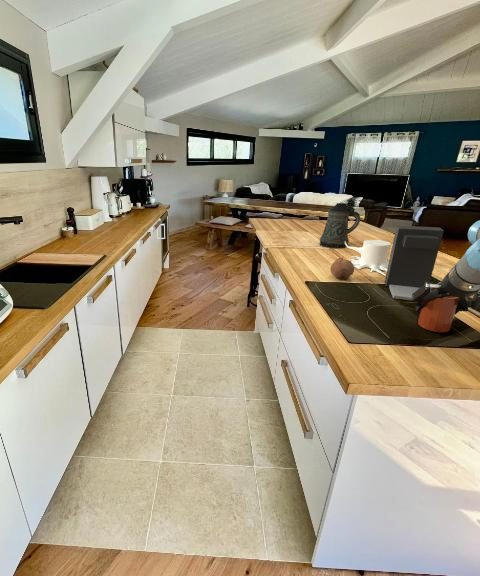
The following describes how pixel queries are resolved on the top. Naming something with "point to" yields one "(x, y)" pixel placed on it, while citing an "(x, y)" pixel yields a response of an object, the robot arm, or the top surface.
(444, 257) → the top surface
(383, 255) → the tree stump
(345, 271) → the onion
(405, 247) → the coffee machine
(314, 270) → the top surface
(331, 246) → the beer stein
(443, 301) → the terracotta cup
